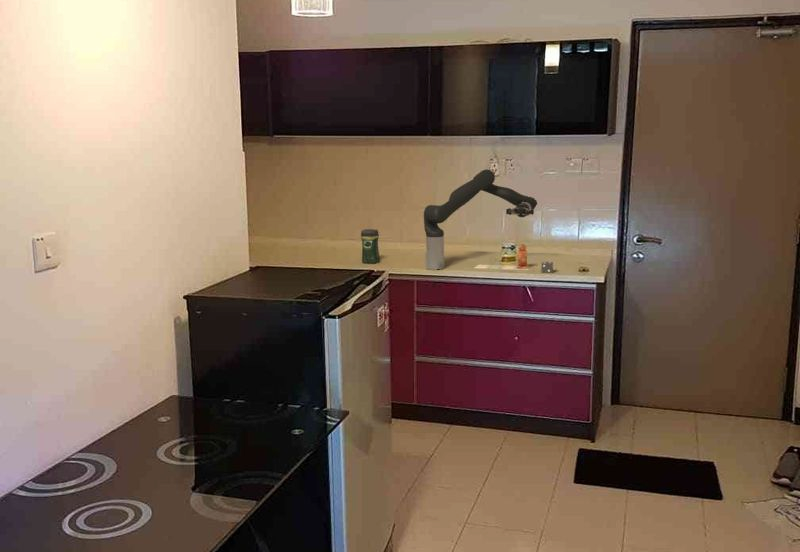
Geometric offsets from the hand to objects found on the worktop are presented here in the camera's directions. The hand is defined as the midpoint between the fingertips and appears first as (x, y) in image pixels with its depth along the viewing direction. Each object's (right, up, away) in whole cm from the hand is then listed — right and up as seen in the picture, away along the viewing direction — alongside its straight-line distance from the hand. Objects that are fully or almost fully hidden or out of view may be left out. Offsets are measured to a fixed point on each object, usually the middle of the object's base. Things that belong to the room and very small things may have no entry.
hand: (517, 213), depth 400 cm
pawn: (+1, -29, -11) cm, 31 cm away
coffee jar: (-78, -26, +24) cm, 85 cm away
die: (+12, -31, -15) cm, 37 cm away
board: (-9, -30, -7) cm, 32 cm away
